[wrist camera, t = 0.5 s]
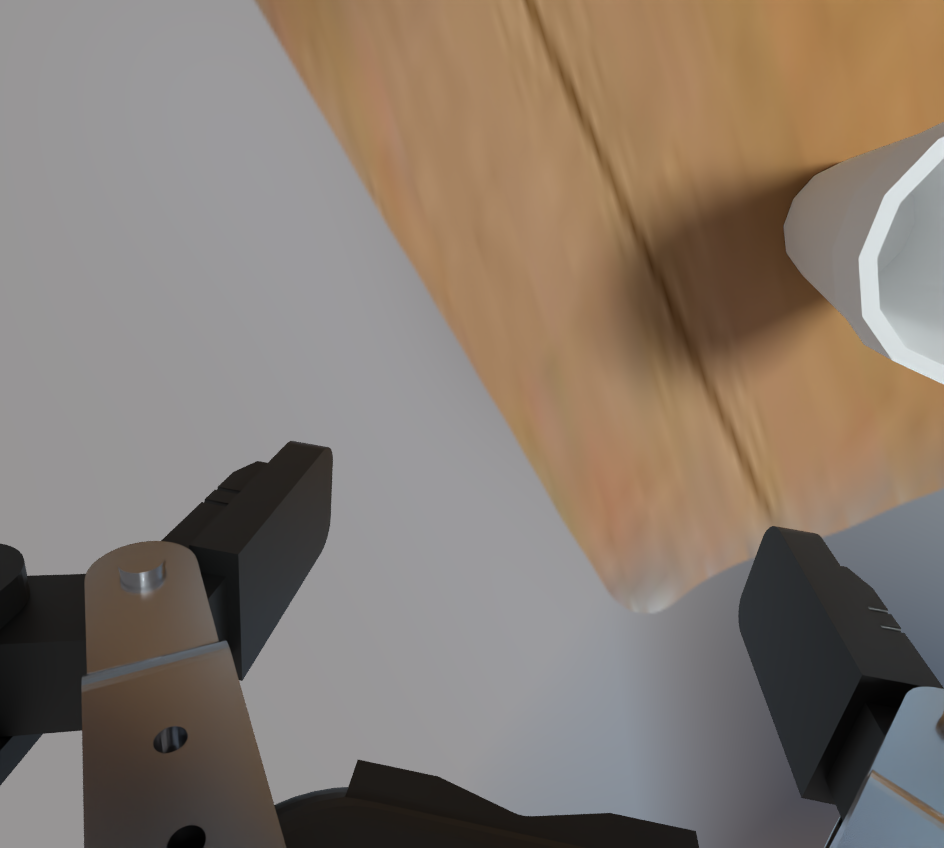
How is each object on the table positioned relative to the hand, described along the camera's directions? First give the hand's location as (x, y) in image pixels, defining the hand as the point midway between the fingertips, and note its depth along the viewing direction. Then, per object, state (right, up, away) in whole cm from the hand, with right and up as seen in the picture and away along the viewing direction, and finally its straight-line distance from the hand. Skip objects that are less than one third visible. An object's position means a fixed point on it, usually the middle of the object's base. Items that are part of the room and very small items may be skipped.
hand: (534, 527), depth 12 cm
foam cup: (+19, +13, +22) cm, 31 cm away
